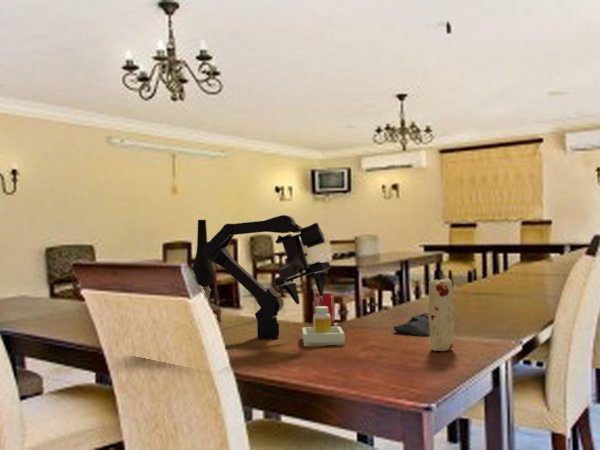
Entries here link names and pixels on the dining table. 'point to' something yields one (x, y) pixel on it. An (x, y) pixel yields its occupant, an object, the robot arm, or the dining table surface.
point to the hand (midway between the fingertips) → (309, 300)
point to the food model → (441, 314)
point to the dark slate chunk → (415, 326)
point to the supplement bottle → (321, 320)
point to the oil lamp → (204, 266)
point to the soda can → (325, 303)
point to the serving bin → (323, 337)
